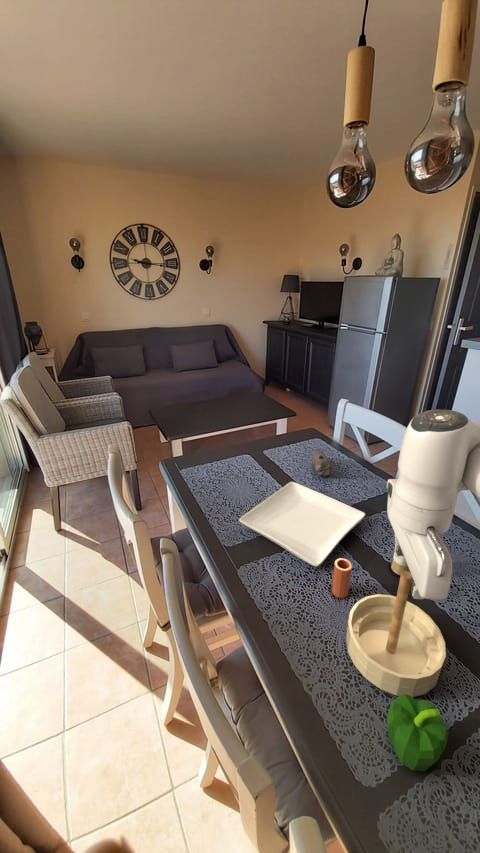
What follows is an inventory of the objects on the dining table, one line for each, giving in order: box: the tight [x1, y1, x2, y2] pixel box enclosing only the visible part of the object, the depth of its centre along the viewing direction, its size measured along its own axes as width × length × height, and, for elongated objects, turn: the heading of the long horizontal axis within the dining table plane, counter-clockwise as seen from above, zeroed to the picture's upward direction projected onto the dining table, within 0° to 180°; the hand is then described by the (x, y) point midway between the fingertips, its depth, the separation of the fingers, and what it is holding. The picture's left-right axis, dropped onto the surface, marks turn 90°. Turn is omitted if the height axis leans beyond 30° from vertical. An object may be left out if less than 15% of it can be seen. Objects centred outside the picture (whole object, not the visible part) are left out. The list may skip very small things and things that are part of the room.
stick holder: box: [331, 557, 353, 599], centre depth 84 cm, size 4×4×8 cm
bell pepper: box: [386, 694, 450, 772], centre depth 55 cm, size 8×8×10 cm
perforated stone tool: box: [311, 449, 332, 478], centre depth 135 cm, size 15×5×7 cm, turn 1°
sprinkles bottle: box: [390, 550, 411, 576], centre depth 88 cm, size 5×5×13 cm
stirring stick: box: [386, 571, 413, 654], centre depth 67 cm, size 2×2×20 cm
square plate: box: [238, 481, 366, 568], centre depth 106 cm, size 27×27×4 cm
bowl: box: [345, 593, 447, 698], centre depth 71 cm, size 17×17×6 cm
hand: (408, 573), depth 63 cm, fingers open, 8 cm apart
